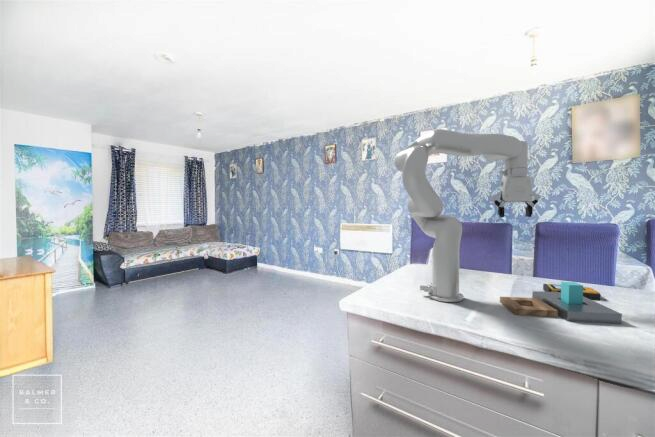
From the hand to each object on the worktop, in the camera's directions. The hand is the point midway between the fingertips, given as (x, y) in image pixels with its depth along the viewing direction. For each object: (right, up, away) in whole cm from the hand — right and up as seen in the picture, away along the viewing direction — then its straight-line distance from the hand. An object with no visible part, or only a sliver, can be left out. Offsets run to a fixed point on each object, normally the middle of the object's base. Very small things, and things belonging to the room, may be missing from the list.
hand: (514, 216), depth 112 cm
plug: (+7, -31, -18) cm, 37 cm away
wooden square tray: (-7, -31, -16) cm, 36 cm away
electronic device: (+20, -31, -2) cm, 37 cm away
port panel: (+7, -31, -18) cm, 37 cm away
